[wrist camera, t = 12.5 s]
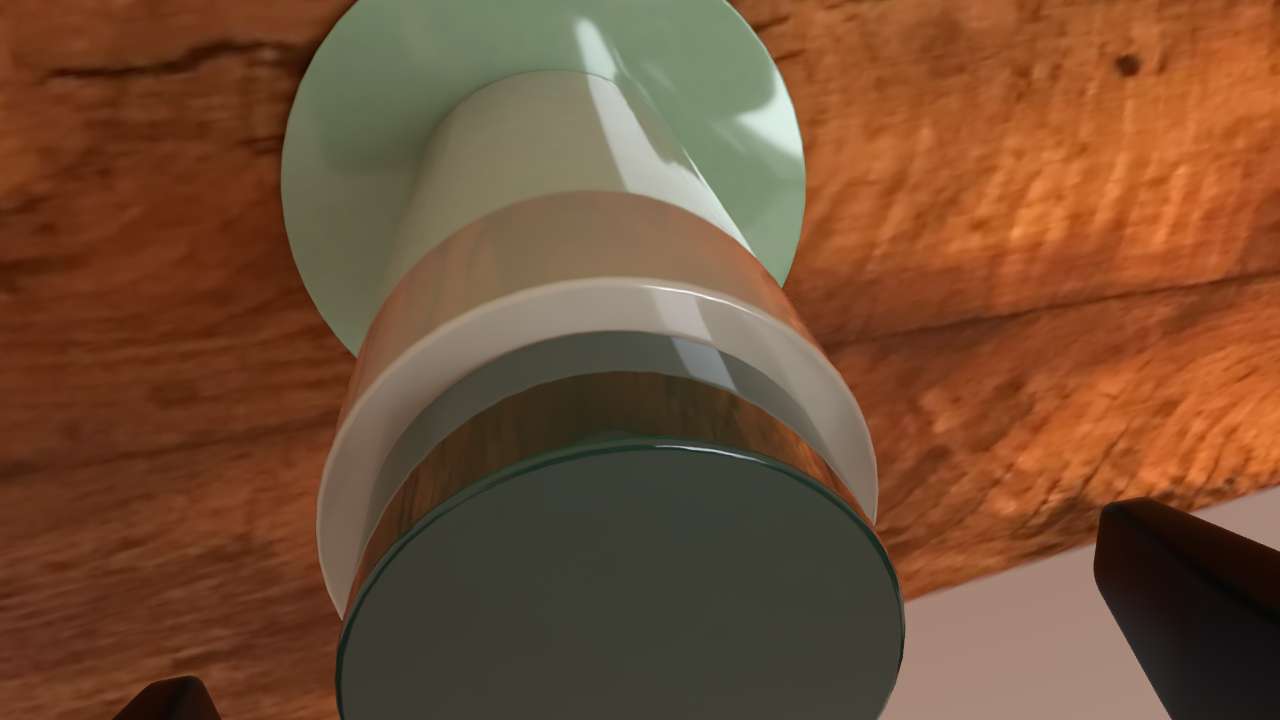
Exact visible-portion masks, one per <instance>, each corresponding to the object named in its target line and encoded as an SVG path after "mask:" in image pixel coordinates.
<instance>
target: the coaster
mask: <svg viewBox="0 0 1280 720" xmlns="http://www.w3.org/2000/svg"><path fill="white" fill-rule="evenodd" d="M541 70H568V71H576V72H581V73H586V74H591V75H594V76H597V77H600V78H603V79H606V80H609V81H612V82H614V83H616V84H618V85H620V86H622V87H624V88H626V89H628V90H629V91H631V92H632V93H634V94H635V95H637V96H638V97H640V98H641V99H643V100H644V101H645V102H646V103H647V104H648V105H650V106H651V107H652V108H653V109H654V110H655V111H656V112H657V113H658V114H659V115H660V116H661V117H662V118H663V119H664V121H665V122H666V123H667V124H668V125H669V126H670V128H671V129H672V131H673V132H674V134H675V135H676V136H677V138H678V139H679V141H680V142H681V144H682V145H683V147H684V148H685V149H686V151H687V152H688V154H689V155H690V157H691V158H692V160H693V161H694V163H695V164H696V165H697V167H698V168H699V170H700V171H701V173H702V174H703V176H704V177H705V178H706V180H707V181H708V183H709V184H710V186H711V187H712V189H713V190H714V191H715V193H716V194H717V196H718V197H719V199H720V200H721V202H722V203H723V205H724V206H725V207H726V209H727V210H728V212H729V213H730V215H731V216H732V218H733V219H734V220H735V222H736V223H737V225H738V226H739V228H740V229H741V231H742V232H743V234H744V235H745V236H746V238H747V239H748V241H749V242H750V244H751V245H752V247H753V248H754V249H755V251H756V252H757V254H758V255H759V257H760V258H761V260H762V261H763V263H764V264H765V265H766V267H767V268H768V270H769V271H770V273H771V274H772V276H773V277H774V278H775V280H776V281H777V283H778V284H779V286H780V287H781V289H782V287H783V284H784V282H785V280H786V277H787V275H788V273H789V270H790V268H791V266H792V262H793V259H794V256H795V252H796V249H797V245H798V242H799V238H800V234H801V228H802V222H803V215H804V209H805V193H806V167H805V158H804V149H803V139H802V135H801V131H800V127H799V123H798V119H797V115H796V111H795V107H794V104H793V102H792V99H791V97H790V94H789V92H788V89H787V87H786V84H785V82H784V79H783V76H782V74H781V73H780V71H779V69H778V67H777V65H776V64H775V62H774V60H773V58H772V57H771V55H770V53H769V51H768V49H767V48H766V46H765V44H764V43H763V42H762V40H761V39H760V38H759V36H758V35H757V34H756V33H755V31H754V30H753V29H752V27H751V26H750V25H749V23H748V22H747V21H746V19H745V18H744V17H743V16H742V15H741V14H740V13H739V12H738V11H737V10H736V9H735V8H734V7H733V6H732V5H731V4H730V3H729V2H728V1H727V0H357V1H356V2H355V4H354V5H353V6H352V7H351V8H350V9H349V10H348V11H347V12H346V13H345V14H344V15H343V16H342V17H341V18H340V19H339V20H338V21H337V23H336V24H335V25H334V27H333V28H332V30H331V31H330V33H329V34H328V35H327V37H326V38H325V40H324V41H323V42H322V44H321V45H320V47H319V48H318V49H317V51H316V53H315V54H314V56H313V58H312V60H311V62H310V64H309V66H308V68H307V70H306V72H305V74H304V76H303V78H302V80H301V82H300V84H299V87H298V90H297V93H296V96H295V99H294V102H293V105H292V108H291V111H290V114H289V117H288V121H287V126H286V132H285V138H284V143H283V149H282V157H281V187H280V189H281V198H282V208H283V217H284V224H285V228H286V232H287V236H288V240H289V244H290V248H291V252H292V256H293V258H294V261H295V263H296V266H297V268H298V271H299V273H300V276H301V278H302V281H303V284H304V286H305V288H306V290H307V292H308V293H309V295H310V297H311V299H312V300H313V302H314V304H315V306H316V308H317V309H318V311H319V313H320V315H321V316H322V318H323V319H324V320H325V322H326V323H327V324H328V326H329V327H330V328H331V330H332V331H333V332H334V334H335V335H336V336H337V338H338V339H339V340H340V342H341V343H342V344H343V345H344V346H345V347H346V348H347V349H348V350H349V351H350V352H351V353H352V354H353V355H354V356H355V357H356V358H357V357H358V354H359V351H360V347H361V344H362V341H363V338H364V335H365V331H366V328H367V325H368V322H369V319H370V315H371V312H372V309H373V306H374V302H375V299H376V296H377V293H378V290H379V286H380V283H381V280H382V277H383V274H384V270H385V267H386V264H387V261H388V257H389V254H390V251H391V248H392V245H393V241H394V238H395V235H396V232H397V229H398V225H399V222H400V219H401V216H402V212H403V209H404V206H405V203H406V200H407V196H408V193H409V190H410V187H411V184H412V180H413V177H414V174H415V171H416V167H417V165H418V162H419V160H420V157H421V155H422V152H423V150H424V148H425V146H426V144H427V143H428V141H429V139H430V137H431V136H432V134H433V132H434V131H435V130H436V129H437V127H438V126H439V125H440V123H441V122H442V121H443V120H444V118H445V117H446V116H447V115H448V114H449V113H450V112H451V111H452V110H453V109H454V108H455V107H456V106H457V105H458V104H460V103H461V102H462V101H464V100H465V99H466V98H468V97H469V96H471V95H472V94H473V93H475V92H476V91H478V90H480V89H482V88H484V87H486V86H488V85H489V84H491V83H493V82H496V81H499V80H501V79H504V78H507V77H509V76H513V75H517V74H522V73H526V72H531V71H541Z"/></svg>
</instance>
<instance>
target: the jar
mask: <svg viewBox="0 0 1280 720" xmlns="http://www.w3.org/2000/svg"><path fill="white" fill-rule="evenodd" d="M878 489H879V484H878V472H877V460H876V454H875V450H874V446H873V442H872V438H871V434H870V430H869V427H868V424H867V422H866V420H865V418H864V415H863V413H862V411H861V408H860V406H859V404H858V401H857V399H856V398H855V396H854V395H853V393H852V391H851V390H850V388H849V387H848V385H847V384H846V382H845V380H844V379H843V377H842V376H841V374H840V373H839V371H838V370H837V368H836V367H835V365H834V364H833V363H832V361H831V360H830V358H829V357H828V355H827V354H826V352H825V351H824V349H823V348H822V347H821V345H820V344H819V342H818V341H817V339H816V338H815V336H814V335H813V334H812V332H811V331H810V329H809V328H808V326H807V325H806V323H805V322H804V320H803V319H802V318H801V316H800V315H799V313H798V312H797V310H796V309H795V307H794V306H793V305H792V303H791V302H790V300H789V299H788V297H787V296H786V294H785V293H784V292H783V290H782V289H781V287H780V286H779V284H778V283H777V281H776V280H775V278H774V277H773V276H772V274H771V273H770V271H769V270H768V268H767V267H766V265H765V264H764V263H763V261H762V260H761V258H760V257H759V255H758V254H757V252H756V251H755V249H754V248H753V247H752V245H751V244H750V242H749V241H748V239H747V238H746V236H745V235H744V234H743V232H742V231H741V229H740V228H739V226H738V225H737V223H736V222H735V220H734V219H733V218H732V216H731V215H730V213H729V212H728V210H727V209H726V207H725V206H724V205H723V203H722V202H721V200H720V199H719V197H718V196H717V194H716V193H715V191H714V190H713V189H712V187H711V186H710V184H709V183H708V181H707V180H706V178H705V177H704V176H703V174H702V173H701V171H700V170H699V168H698V167H697V165H696V164H695V163H694V161H693V160H692V158H691V157H690V155H689V154H688V152H687V151H686V149H685V148H684V147H683V145H682V144H681V142H680V141H679V139H678V138H677V136H676V135H675V134H674V132H673V131H672V129H671V128H670V126H669V125H668V124H667V123H666V122H665V121H664V119H663V118H662V117H661V116H660V115H659V114H658V113H657V112H656V111H655V110H654V109H653V108H652V107H651V106H650V105H648V104H647V103H646V102H645V101H644V100H643V99H641V98H640V97H638V96H637V95H635V94H634V93H632V92H631V91H629V90H628V89H626V88H624V87H622V86H620V85H618V84H616V83H614V82H612V81H609V80H606V79H603V78H600V77H597V76H594V75H591V74H586V73H581V72H576V71H568V70H541V71H531V72H526V73H522V74H517V75H513V76H509V77H507V78H504V79H501V80H499V81H496V82H493V83H491V84H489V85H488V86H486V87H484V88H482V89H480V90H478V91H476V92H475V93H473V94H472V95H471V96H469V97H468V98H466V99H465V100H464V101H462V102H461V103H460V104H458V105H457V106H456V107H455V108H454V109H453V110H452V111H451V112H450V113H449V114H448V115H447V116H446V117H445V118H444V120H443V121H442V122H441V123H440V125H439V126H438V127H437V129H436V130H435V131H434V132H433V134H432V136H431V137H430V139H429V141H428V143H427V144H426V146H425V148H424V150H423V152H422V155H421V157H420V160H419V162H418V165H417V167H416V171H415V174H414V177H413V180H412V184H411V187H410V190H409V193H408V196H407V200H406V203H405V206H404V209H403V212H402V216H401V219H400V222H399V225H398V229H397V232H396V235H395V238H394V241H393V245H392V248H391V251H390V254H389V257H388V261H387V264H386V267H385V270H384V274H383V277H382V280H381V283H380V286H379V290H378V293H377V296H376V299H375V302H374V306H373V309H372V312H371V315H370V319H369V322H368V325H367V328H366V331H365V335H364V338H363V341H362V344H361V347H360V351H359V354H358V357H357V360H356V364H355V367H354V370H353V373H352V376H351V380H350V383H349V386H348V389H347V392H346V396H345V399H344V402H343V405H342V409H341V412H340V415H339V418H338V421H337V425H336V428H335V431H334V434H333V437H332V441H331V444H330V447H329V450H328V454H327V457H326V460H325V463H324V467H323V472H322V476H321V480H320V485H319V489H318V493H317V502H316V518H315V533H316V542H317V552H318V559H319V563H320V566H321V570H322V574H323V577H324V581H325V584H326V588H327V590H328V592H329V595H330V597H331V599H332V601H333V603H334V605H335V607H336V610H337V612H338V614H339V616H340V618H341V620H342V625H341V629H340V634H339V639H338V643H337V648H336V658H335V670H334V685H335V694H336V704H337V709H338V713H339V716H340V719H341V720H878V719H879V718H880V716H881V714H882V713H883V711H884V709H885V707H886V705H887V703H888V700H889V698H890V696H891V693H892V691H893V689H894V686H895V684H896V680H897V677H898V673H899V669H900V665H901V662H902V658H903V649H904V639H905V614H904V599H903V595H902V591H901V587H900V583H899V579H898V575H897V572H896V569H895V567H894V565H893V563H892V561H891V558H890V556H889V554H888V552H887V550H886V547H885V546H884V544H883V542H882V540H881V539H880V537H879V535H878V533H877V532H876V530H875V528H874V527H875V522H876V516H877V502H878Z"/></svg>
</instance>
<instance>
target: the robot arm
mask: <svg viewBox="0 0 1280 720" xmlns="http://www.w3.org/2000/svg"><path fill="white" fill-rule="evenodd" d="M1094 577H1095V581H1096V584H1097V586H1098V589H1099V591H1100V593H1101V595H1102V596H1103V598H1104V600H1105V602H1106V604H1107V606H1108V607H1109V609H1110V611H1111V613H1112V615H1113V616H1114V618H1115V620H1116V622H1117V623H1118V625H1119V627H1120V629H1121V631H1122V632H1123V634H1124V636H1125V638H1126V639H1127V641H1128V643H1129V645H1130V647H1131V649H1132V650H1133V652H1134V654H1135V656H1136V658H1137V659H1138V661H1139V663H1140V665H1141V667H1142V668H1143V670H1144V672H1145V674H1146V676H1147V677H1148V679H1149V681H1150V683H1151V684H1152V686H1153V688H1154V690H1155V692H1156V693H1157V695H1158V697H1159V699H1160V701H1161V702H1162V704H1163V706H1164V707H1165V709H1166V711H1167V712H1168V714H1169V716H1170V717H1171V719H1172V720H1280V551H1277V550H1275V549H1272V548H1270V547H1268V546H1265V545H1263V544H1260V543H1258V542H1255V541H1253V540H1251V539H1248V538H1246V537H1243V536H1241V535H1238V534H1236V533H1234V532H1231V531H1229V530H1226V529H1224V528H1222V527H1219V526H1217V525H1214V524H1212V523H1210V522H1207V521H1205V520H1202V519H1200V518H1197V517H1195V516H1193V515H1190V514H1188V513H1185V512H1183V511H1181V510H1178V509H1176V508H1173V507H1171V506H1169V505H1166V504H1164V503H1161V502H1159V501H1156V500H1154V499H1151V498H1147V497H1138V498H1133V499H1127V500H1122V501H1117V502H1112V503H1109V504H1107V505H1106V506H1105V507H1104V508H1103V510H1102V511H1101V515H1100V520H1099V527H1098V535H1097V542H1096V550H1095V557H1094ZM112 720H221V718H220V716H219V714H218V712H217V710H216V708H215V706H214V704H213V702H212V700H211V698H210V696H209V694H208V692H207V689H206V687H205V686H204V684H203V682H202V681H201V680H200V679H199V678H198V677H195V676H190V675H189V676H182V677H177V678H172V679H166V680H161V681H157V682H154V683H151V684H150V685H148V686H147V687H146V688H144V689H143V690H142V691H141V692H140V693H139V694H138V695H137V696H136V697H135V698H134V699H133V700H132V701H131V702H130V703H129V704H127V705H126V706H125V707H124V708H123V709H122V710H121V711H120V712H119V713H118V714H117V715H116V716H115V717H114V718H113V719H112Z"/></svg>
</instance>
